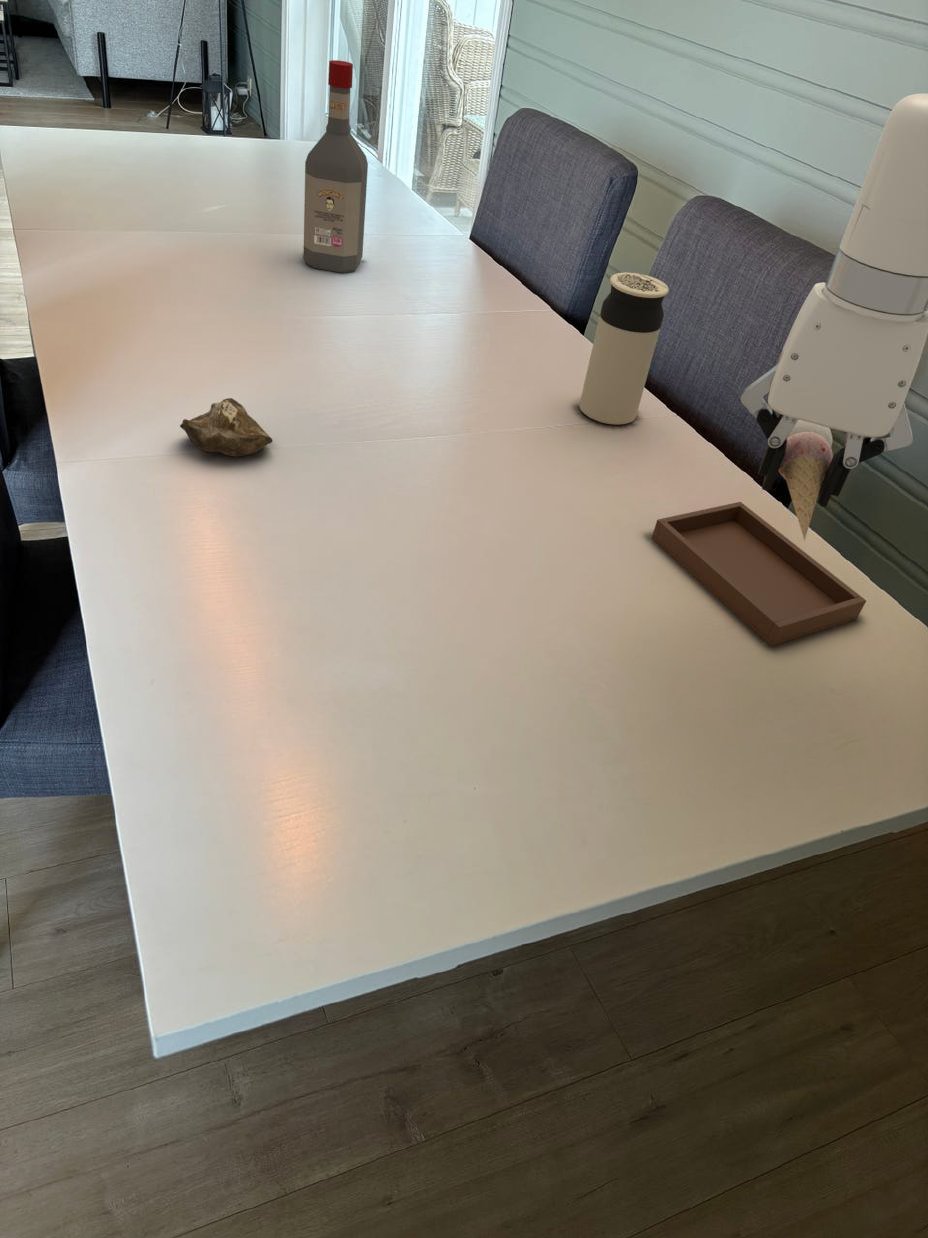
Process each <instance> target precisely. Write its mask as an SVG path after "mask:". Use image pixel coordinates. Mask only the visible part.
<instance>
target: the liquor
mask: <svg viewBox="0 0 928 1238" xmlns="http://www.w3.org/2000/svg"><path fill="white" fill-rule="evenodd" d="M353 71H354V64H353V63H352V62H349V61H346V60H345V61H344V60H337V59H336V60H335V59H332V60H329V61H328V78H327V79H328V80H327V81H328V84H327V85H328V86H329V89H328V91H329V94H328V111H327V112H328V115H327V125H326V126H325V132H324V134H323V135H322V136H321V138H320V139H319V140H318V141H317V142H316V143H315V145H314V146H313V147H312V148H311V150H310V151H309V152H308V153H307V156H306V158H305V163H304V202H303V203H304V207H303V208H304V209H303V210H304V211H303V254H302V255H303V258H302V259H303V260H304V262H305V264H306V265H308V266H310V267H311V268H313V269H317V270H322V271H327V272H333V273H340V274H343V273H344V274H345V273H351V272H355V271H356V269H357V267H358V266H359V264H360V262H361V260H362V259H363V253H364V252H363V251H364V238H365V237H364V235H365V218H366V203H367V188H368V169H369V162H368V158H367V155H366V154H365V152H364V150H362V148H361V146H360V145H359V143H358V142H357V140H356V139H355V137H354V136H353V135H352V133H351V130H352V128H351V124H350V113H351V112H350V111H351V89H353V75H354V74H353V73H354V72H353Z"/></svg>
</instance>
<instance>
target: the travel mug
mask: <svg viewBox="0 0 928 1238" xmlns="http://www.w3.org/2000/svg"><path fill="white" fill-rule="evenodd" d="M609 283H610V292H609V293H608V295H607V296H606V297H605V298H604V300H603V301H602V305H601V309H600V314H599V317H598V322H597V326H596V330H595V334H594V339H593V342H592V343H593V344H592V347H591V352H590V356H589V361H588V365H587V370H586V374H585V378H584V382H583V386H582V391H581V396H580V400H579V405H578V406H579V409H580V411H581V412H582V413H583V414H584V415H586V417H588V418H589V419H592V420H593V421H596V422H598V423H601V424H606V425H612V426H613V425H615V426H616V425H617V426H618V425H619V426H620V425H627V424H629V423H632V422H633V421H635V419H636V418H637V414H638V411H639V408H640V404H641V400H642V397H643V394H644V390H645V386H646V382H647V378H648V374H649V371H650V367H651V364H652V360H653V356H654V353H655V350H656V346H657V342H658V338H659V335H660V331H661V328H662V324H663V320H664V317H665V313H664V307H663V301H664V298H665V297H666V296H667V295H668V294H669V292H670V290H669V287H668V285H667V284H666V283H665V282H664V281H662V280H660V279H658V278H655V277H654V276H650V275H646V274H642V273H637V272H618V273H614V274H613V275H611V276H610V279H609Z"/></svg>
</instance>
